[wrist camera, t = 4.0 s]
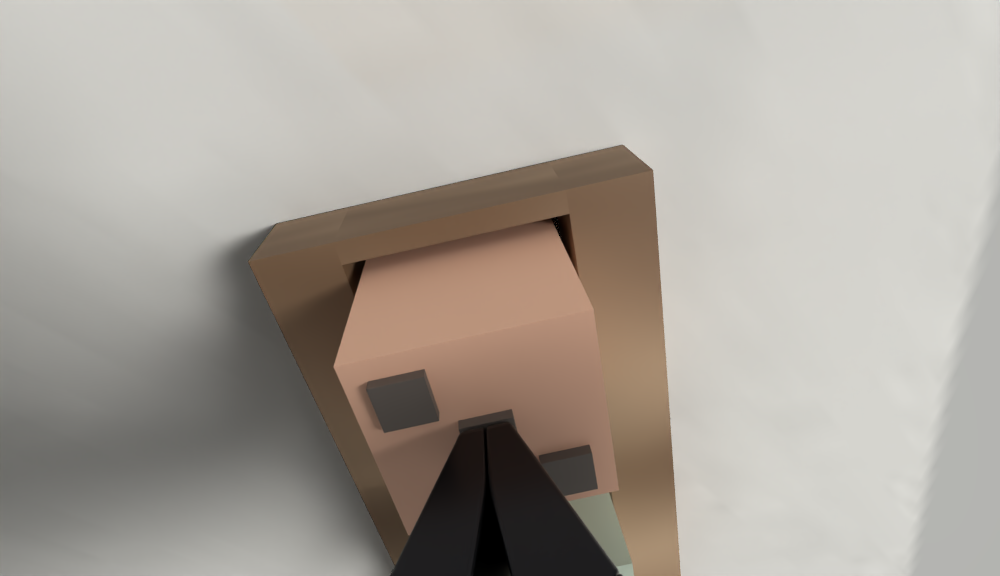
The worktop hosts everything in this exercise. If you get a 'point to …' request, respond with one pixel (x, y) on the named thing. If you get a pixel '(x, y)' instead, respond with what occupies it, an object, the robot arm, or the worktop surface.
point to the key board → (480, 209)
